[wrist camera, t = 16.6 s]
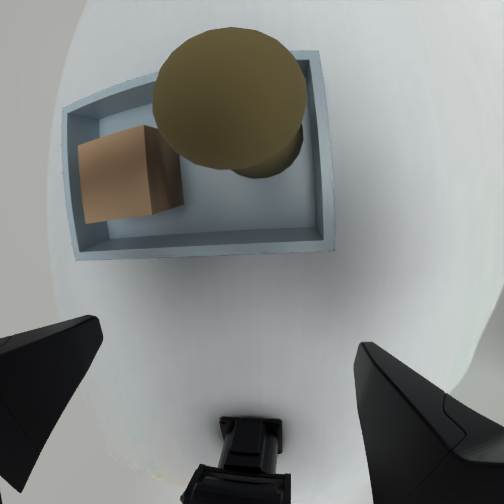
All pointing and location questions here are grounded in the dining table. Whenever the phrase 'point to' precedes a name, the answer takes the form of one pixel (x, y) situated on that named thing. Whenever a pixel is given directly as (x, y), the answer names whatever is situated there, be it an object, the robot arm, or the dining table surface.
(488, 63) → the dining table surface
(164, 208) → the walnut cube
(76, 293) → the dining table surface
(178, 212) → the tote
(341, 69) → the dining table surface
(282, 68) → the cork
